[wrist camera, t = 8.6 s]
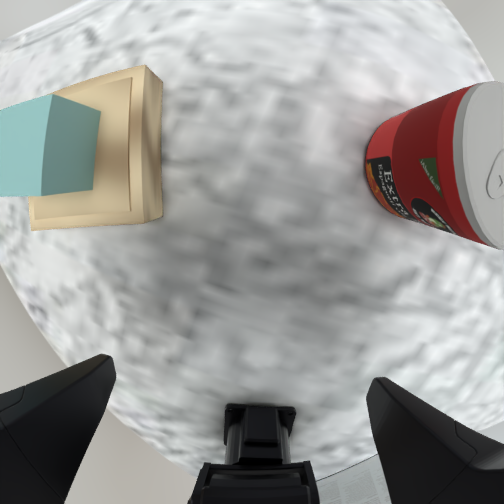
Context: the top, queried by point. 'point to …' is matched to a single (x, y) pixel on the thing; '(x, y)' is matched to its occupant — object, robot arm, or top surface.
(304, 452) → the top surface
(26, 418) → the robot arm
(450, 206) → the canned food
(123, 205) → the bamboo box
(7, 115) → the teal cube
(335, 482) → the skincare box
